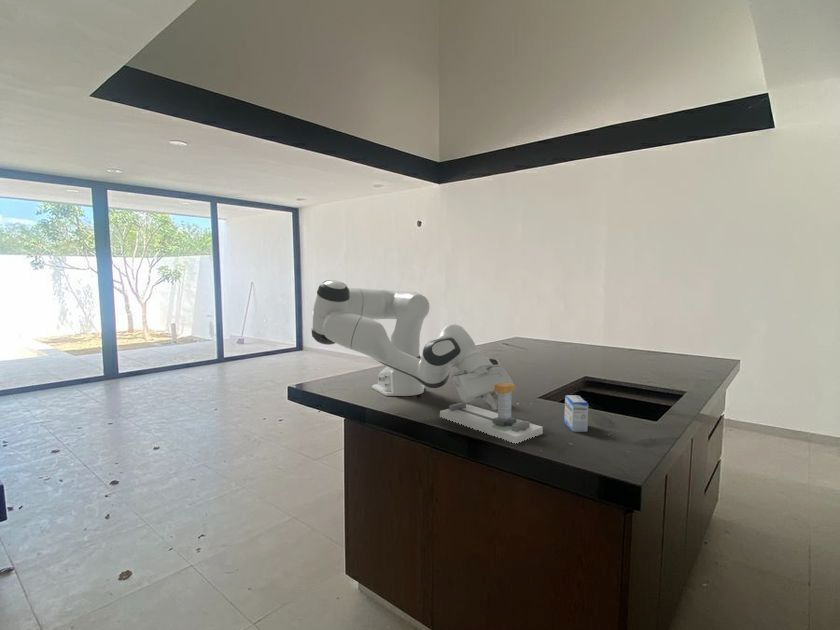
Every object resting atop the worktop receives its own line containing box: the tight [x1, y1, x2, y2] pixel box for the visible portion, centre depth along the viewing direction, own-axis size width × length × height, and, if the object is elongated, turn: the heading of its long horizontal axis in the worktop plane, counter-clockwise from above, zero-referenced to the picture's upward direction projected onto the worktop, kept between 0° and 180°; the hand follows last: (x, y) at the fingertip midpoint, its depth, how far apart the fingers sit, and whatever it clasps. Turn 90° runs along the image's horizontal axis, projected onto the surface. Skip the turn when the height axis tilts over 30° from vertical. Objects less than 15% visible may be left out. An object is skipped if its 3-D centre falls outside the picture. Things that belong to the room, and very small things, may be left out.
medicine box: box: [563, 394, 589, 433], centre depth 129 cm, size 8×4×9 cm, turn 178°
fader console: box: [439, 401, 544, 445], centre depth 132 cm, size 30×12×4 cm, turn 40°
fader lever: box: [493, 382, 517, 426], centre depth 126 cm, size 4×6×11 cm
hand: (498, 407), depth 128 cm, fingers closed, pressing on fader lever
